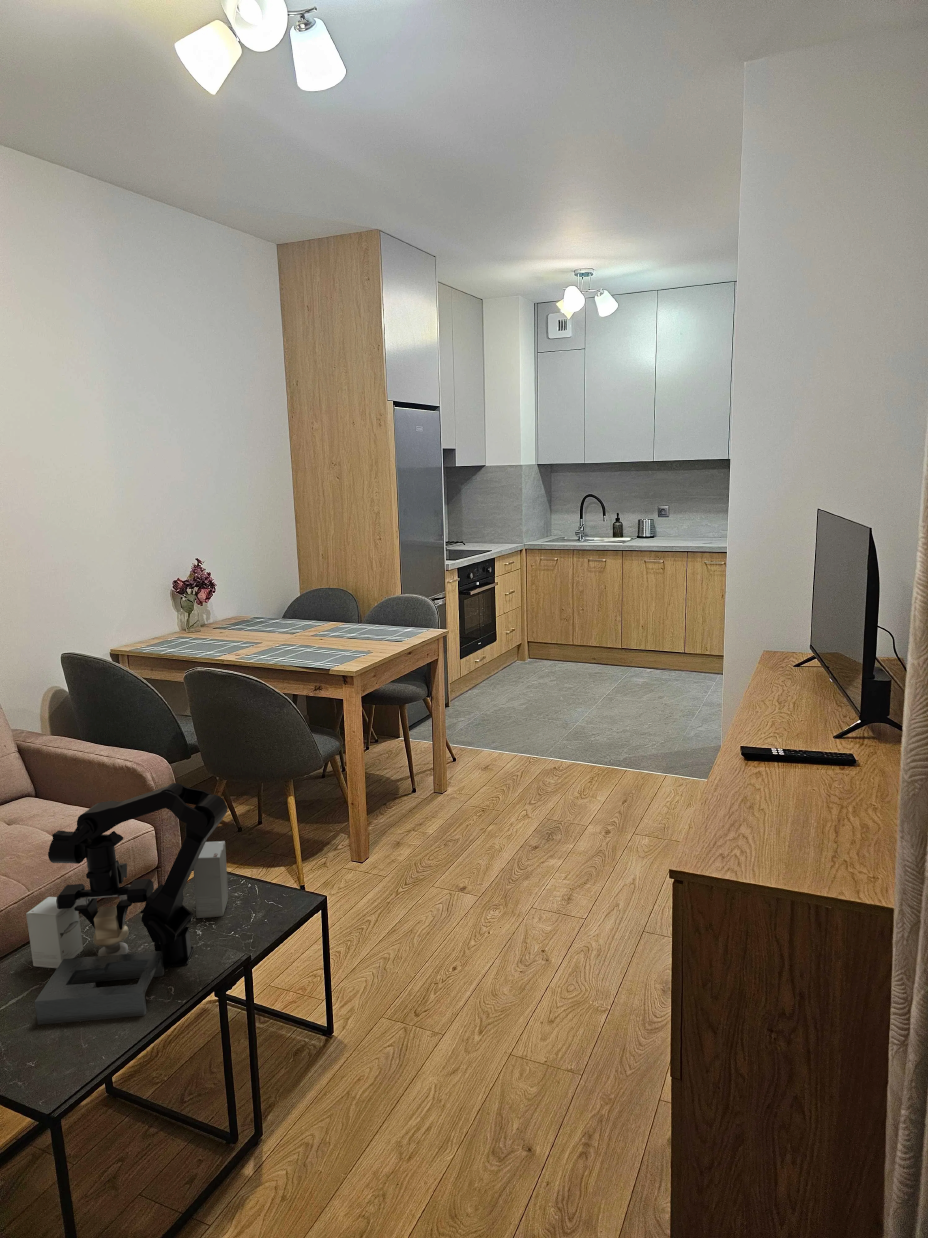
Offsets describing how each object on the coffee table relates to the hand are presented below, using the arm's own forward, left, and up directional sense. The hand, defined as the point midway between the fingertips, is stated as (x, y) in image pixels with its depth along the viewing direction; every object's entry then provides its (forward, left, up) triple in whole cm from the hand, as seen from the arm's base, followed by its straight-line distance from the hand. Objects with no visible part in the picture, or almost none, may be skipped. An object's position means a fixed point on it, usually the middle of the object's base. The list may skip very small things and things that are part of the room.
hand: (110, 929), depth 180 cm
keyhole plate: (-3, +15, -6) cm, 17 cm away
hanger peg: (0, 0, -6) cm, 6 cm away
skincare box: (-18, -17, -6) cm, 26 cm away
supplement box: (+12, -1, -7) cm, 14 cm away
